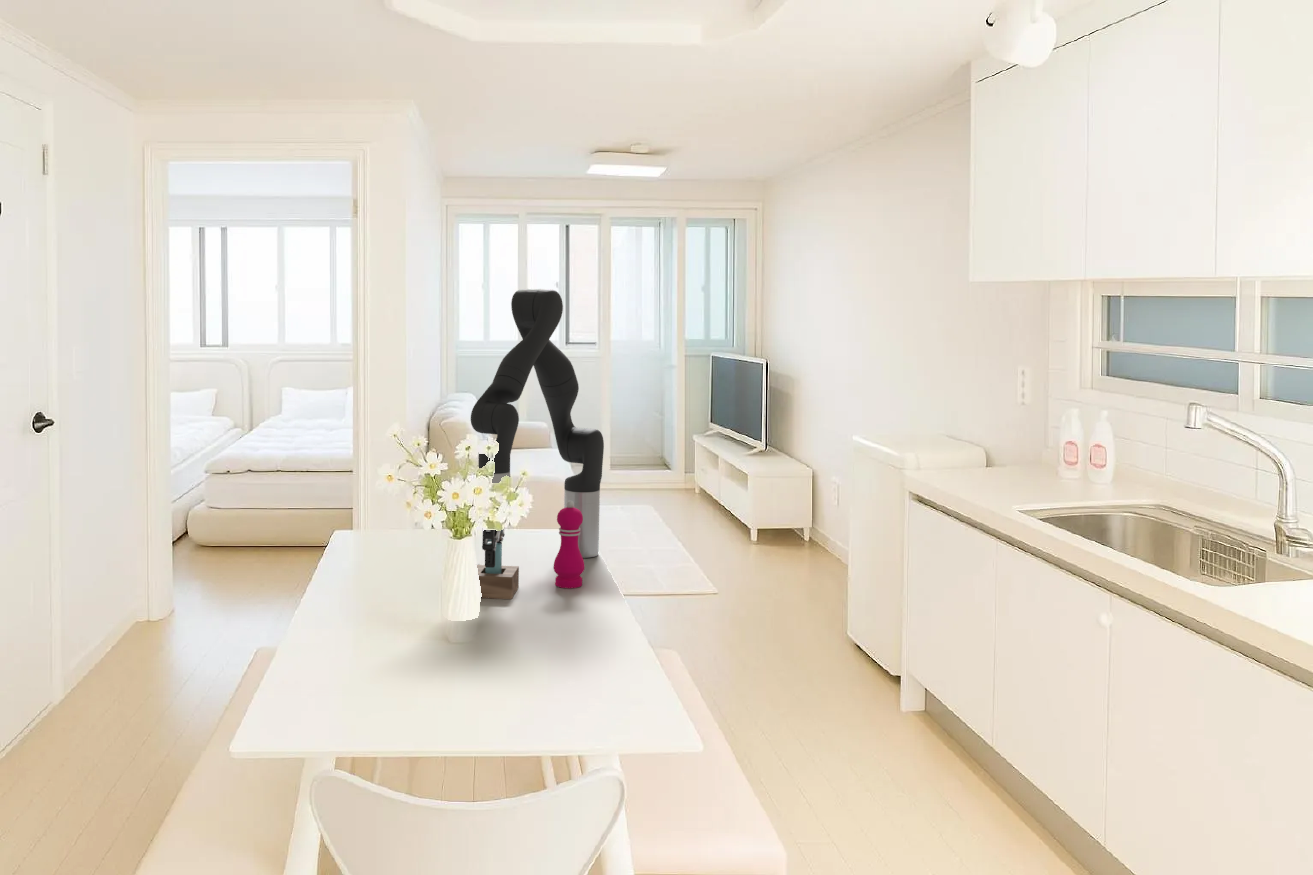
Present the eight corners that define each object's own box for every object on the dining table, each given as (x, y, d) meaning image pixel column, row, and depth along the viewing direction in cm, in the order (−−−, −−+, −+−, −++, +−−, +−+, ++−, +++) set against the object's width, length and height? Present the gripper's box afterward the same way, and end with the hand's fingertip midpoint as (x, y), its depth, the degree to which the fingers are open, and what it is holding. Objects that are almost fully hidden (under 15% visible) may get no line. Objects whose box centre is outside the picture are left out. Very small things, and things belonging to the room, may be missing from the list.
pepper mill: (586, 581, 259) (588, 498, 257) (581, 589, 252) (583, 504, 249) (556, 580, 260) (557, 497, 257) (550, 588, 253) (551, 502, 250)
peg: (486, 585, 249) (487, 542, 248) (502, 586, 249) (503, 543, 248) (483, 589, 246) (484, 545, 245) (499, 590, 246) (500, 546, 245)
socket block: (475, 585, 253) (475, 564, 252) (518, 587, 252) (518, 566, 252) (466, 597, 243) (466, 575, 242) (511, 599, 242) (511, 577, 242)
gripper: (483, 485, 252) (482, 554, 254) (471, 496, 238) (470, 569, 240) (515, 486, 252) (514, 555, 254) (505, 497, 238) (504, 570, 240)
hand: (493, 562), depth 247 cm, fingers open, 8 cm apart
